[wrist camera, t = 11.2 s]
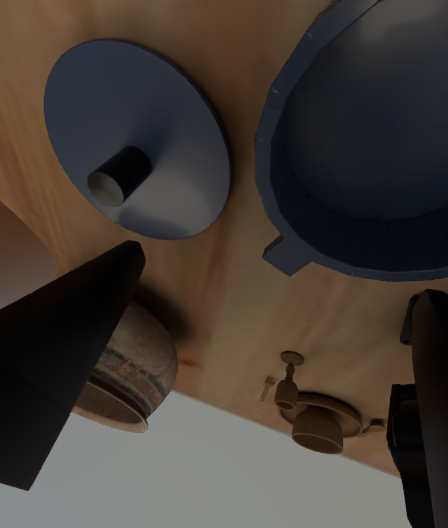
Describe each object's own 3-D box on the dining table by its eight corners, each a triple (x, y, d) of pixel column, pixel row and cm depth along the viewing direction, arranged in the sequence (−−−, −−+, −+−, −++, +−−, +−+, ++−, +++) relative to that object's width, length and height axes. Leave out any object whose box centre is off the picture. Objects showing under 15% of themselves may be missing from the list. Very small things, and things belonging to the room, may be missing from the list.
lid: (277, 139, 18) (260, 177, 15) (185, 257, 29) (163, 295, 25) (63, -30, 16) (-17, -30, 12) (48, 168, 26) (2, 199, 23)
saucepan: (776, 19, 10) (1012, 46, 7) (350, 271, 24) (350, 326, 20) (545, -335, 8) (722, -612, 4) (214, 173, 21) (186, 216, 18)
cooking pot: (29, 227, 33) (-76, 311, 25) (180, 254, 29) (113, 367, 21) (102, 341, 51) (55, 412, 43) (203, 369, 46) (172, 455, 38)
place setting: (256, 403, 50) (247, 440, 46) (278, 347, 35) (269, 395, 31) (361, 438, 47) (362, 481, 43) (432, 394, 32) (444, 452, 28)
